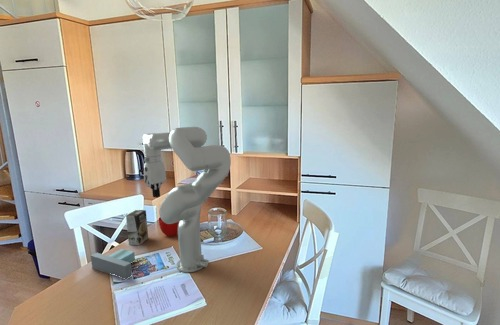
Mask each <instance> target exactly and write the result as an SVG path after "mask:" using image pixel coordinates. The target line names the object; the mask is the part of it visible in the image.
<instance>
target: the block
mask: <svg viewBox="0 0 500 325" xmlns="http://www.w3.org/2000/svg"><path fill="white" fill-rule="evenodd" d="M108 256H110V257H113V258H116V259H120V260H123V261H126V262H130V263H131V262H133V261H134V260H135V261H136V257H135V256H136V255H135V251H131V250H128V249H124V248H121V249H119V250H117V251H115V252H113V253H111V254H109V255H108Z"/></svg>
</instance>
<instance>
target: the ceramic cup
mask: <svg viewBox="0 0 500 325" xmlns="http://www.w3.org/2000/svg"><path fill="white" fill-rule="evenodd" d="M178 224H179V222H176V223H173V224H166V223H164V222H163V221H162V220H161V218H160V217H159V218H158V225H159V229H160V230H161V232H162V234H164V235H165V236H166V237H168V238H170V237H176V236H178Z"/></svg>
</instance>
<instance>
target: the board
mask: <svg viewBox="0 0 500 325" xmlns="http://www.w3.org/2000/svg"><path fill="white" fill-rule="evenodd" d="M90 259H91V260H90V261H91V262H90V263H91V268H92V269H93V270H96V271H99V272H102V273H105V274H109V275H111V274H115V275H117V276H120V277H122V278H125V279H127V278H128V277H130V276H131V275H132V276H133V270H132V264H131V263H130V262H126V261H123V260H120V259H116V258H113V257H110V256H109V255H106V254H103V253H100V252H95V253H93V254H91V255H90ZM110 273H111V274H110ZM122 278H121V279H122ZM130 278H131V277H130ZM125 279H124V280H125ZM127 280H128V279H127Z"/></svg>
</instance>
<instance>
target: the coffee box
mask: <svg viewBox="0 0 500 325" xmlns="http://www.w3.org/2000/svg"><path fill="white" fill-rule="evenodd" d="M125 217H126V219H125V220H126V231H127V238H128V240H127V241H128V245H129V246H130V245H131V246H140V245H142V244H143V243H144V242H146V240H148V239H149V231H148V221H147V220H148V219H147V211H146V210H145V209H135V210H134V211H132V212H130V213H128V214H126V215H125Z"/></svg>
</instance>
